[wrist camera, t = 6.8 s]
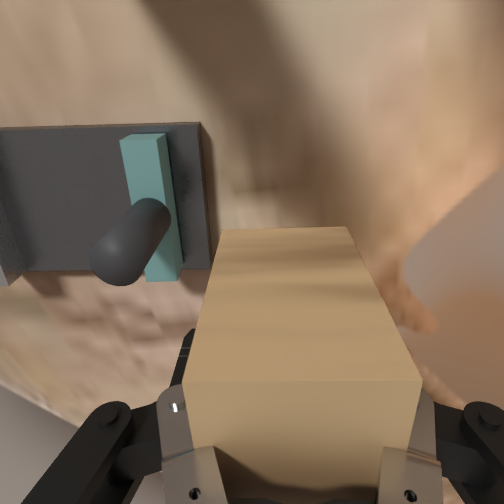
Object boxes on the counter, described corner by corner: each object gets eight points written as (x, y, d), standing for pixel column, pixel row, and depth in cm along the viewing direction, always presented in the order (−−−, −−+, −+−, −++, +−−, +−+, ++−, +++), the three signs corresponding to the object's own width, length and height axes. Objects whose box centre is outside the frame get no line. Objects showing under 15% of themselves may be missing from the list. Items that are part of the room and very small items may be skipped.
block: (222, 229, 15) (181, 382, 8) (346, 226, 15) (422, 380, 7) (234, 366, 18) (214, 560, 11) (335, 366, 18) (380, 563, 11)
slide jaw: (128, 134, 26) (63, 166, 18) (169, 133, 26) (123, 164, 18) (151, 266, 31) (110, 340, 23) (186, 265, 31) (156, 340, 23)
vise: (-42, 128, 28) (-86, 137, 25) (199, 121, 28) (190, 130, 24) (9, 263, 34) (-21, 286, 30) (212, 260, 33) (206, 284, 29)
